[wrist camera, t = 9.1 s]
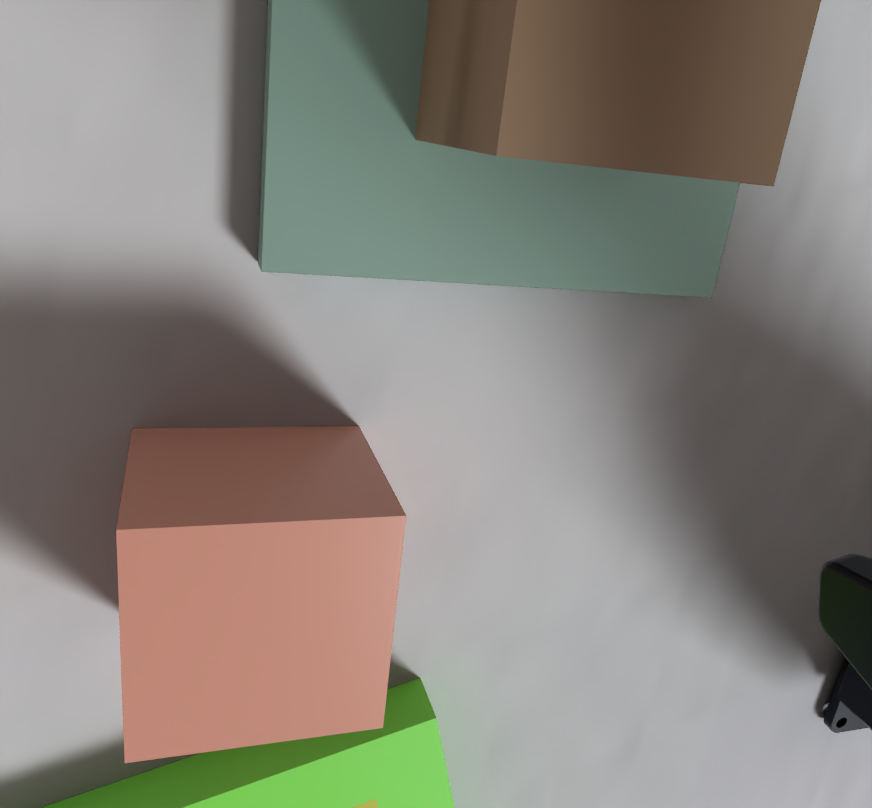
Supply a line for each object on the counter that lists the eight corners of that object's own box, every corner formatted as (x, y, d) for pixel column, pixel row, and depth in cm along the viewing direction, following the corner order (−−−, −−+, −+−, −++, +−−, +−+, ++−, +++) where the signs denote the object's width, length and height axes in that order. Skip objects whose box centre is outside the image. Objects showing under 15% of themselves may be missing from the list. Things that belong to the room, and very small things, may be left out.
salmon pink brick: (357, 424, 20) (406, 515, 16) (343, 601, 22) (382, 728, 18) (132, 426, 19) (116, 529, 14) (137, 619, 21) (124, 763, 16)
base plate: (810, -223, 18) (843, -240, 17) (690, 289, 22) (711, 297, 21) (283, -397, 14) (289, -430, 13) (257, 262, 18) (261, 271, 17)
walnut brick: (685, -101, 17) (864, -170, 12) (634, 164, 19) (773, 186, 14) (444, -159, 15) (552, -264, 11) (415, 139, 17) (496, 155, 13)
